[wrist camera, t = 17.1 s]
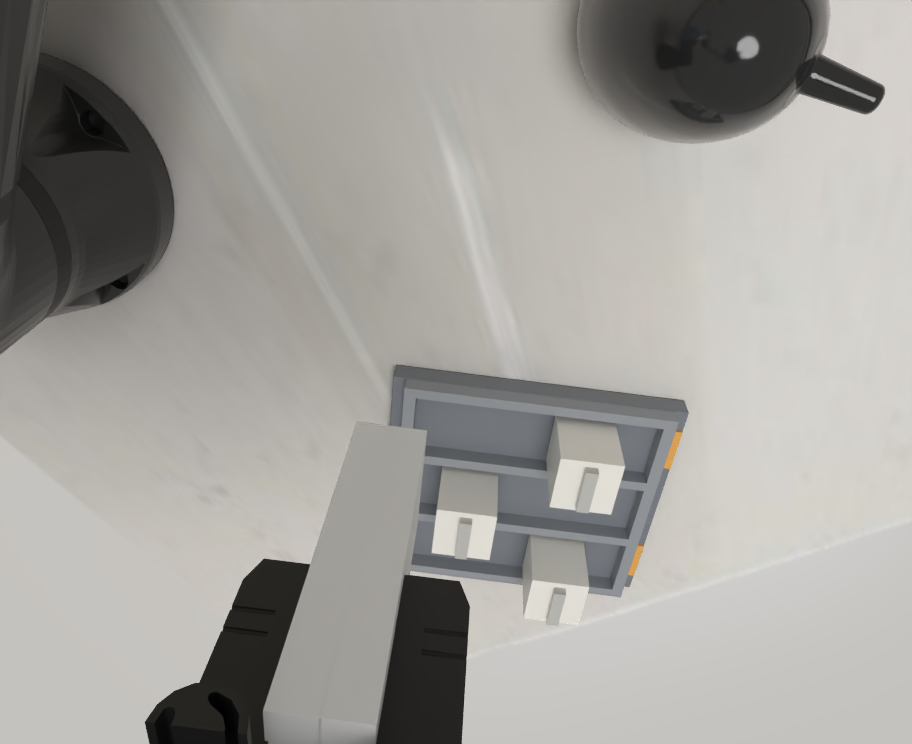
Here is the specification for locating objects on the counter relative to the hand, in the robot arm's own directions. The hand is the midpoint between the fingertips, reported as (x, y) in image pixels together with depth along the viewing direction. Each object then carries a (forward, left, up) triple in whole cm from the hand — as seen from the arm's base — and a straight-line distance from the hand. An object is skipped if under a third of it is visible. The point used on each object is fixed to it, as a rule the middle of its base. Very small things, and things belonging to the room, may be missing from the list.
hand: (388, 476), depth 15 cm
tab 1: (+3, -24, -28) cm, 36 cm away
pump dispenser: (+10, +8, -30) cm, 32 cm away
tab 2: (+10, -18, -28) cm, 35 cm away
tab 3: (+10, -29, -28) cm, 41 cm away
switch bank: (+7, -24, -29) cm, 38 cm away
